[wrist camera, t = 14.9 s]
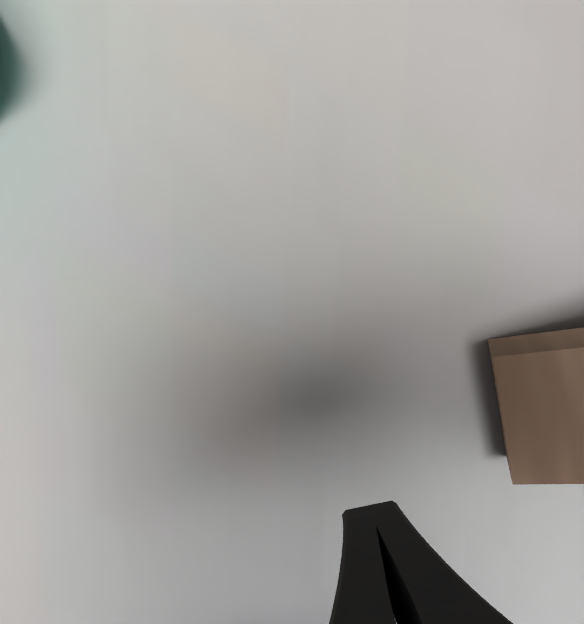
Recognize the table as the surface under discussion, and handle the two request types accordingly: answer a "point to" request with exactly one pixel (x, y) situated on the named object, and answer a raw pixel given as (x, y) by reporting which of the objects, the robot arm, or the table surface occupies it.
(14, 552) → the table surface
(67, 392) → the table surface
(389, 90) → the table surface
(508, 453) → the walnut tile
